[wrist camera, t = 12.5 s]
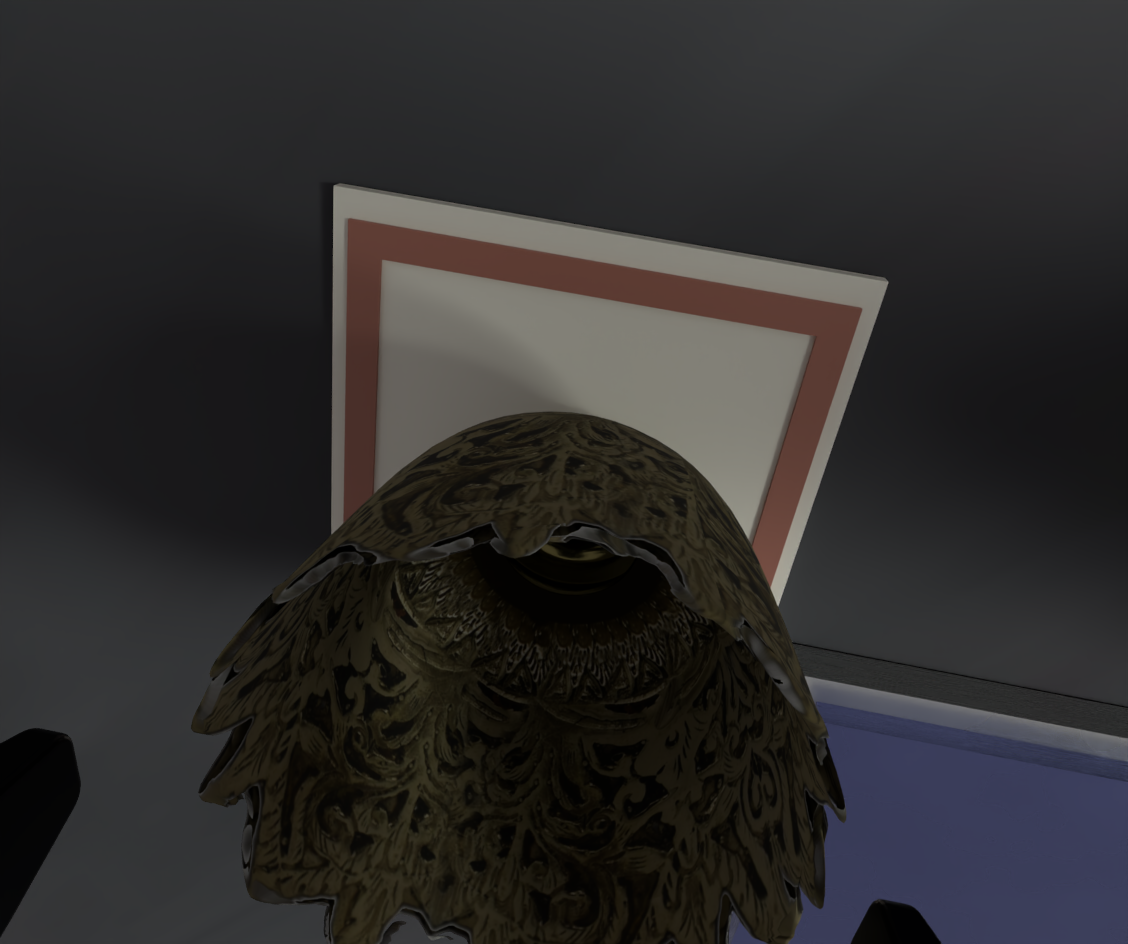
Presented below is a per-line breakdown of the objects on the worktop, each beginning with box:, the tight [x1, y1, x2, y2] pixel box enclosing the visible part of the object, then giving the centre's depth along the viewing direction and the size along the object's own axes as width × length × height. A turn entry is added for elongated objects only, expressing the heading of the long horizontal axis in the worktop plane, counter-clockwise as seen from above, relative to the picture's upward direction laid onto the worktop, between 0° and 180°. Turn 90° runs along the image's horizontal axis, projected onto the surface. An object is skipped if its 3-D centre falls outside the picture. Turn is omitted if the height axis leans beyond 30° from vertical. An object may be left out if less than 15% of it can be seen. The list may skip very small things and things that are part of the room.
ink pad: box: [729, 644, 1128, 944], centre depth 19 cm, size 10×9×2 cm
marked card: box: [331, 183, 889, 606], centre depth 16 cm, size 10×10×1 cm
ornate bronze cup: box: [191, 411, 846, 944], centre depth 13 cm, size 8×7×8 cm
